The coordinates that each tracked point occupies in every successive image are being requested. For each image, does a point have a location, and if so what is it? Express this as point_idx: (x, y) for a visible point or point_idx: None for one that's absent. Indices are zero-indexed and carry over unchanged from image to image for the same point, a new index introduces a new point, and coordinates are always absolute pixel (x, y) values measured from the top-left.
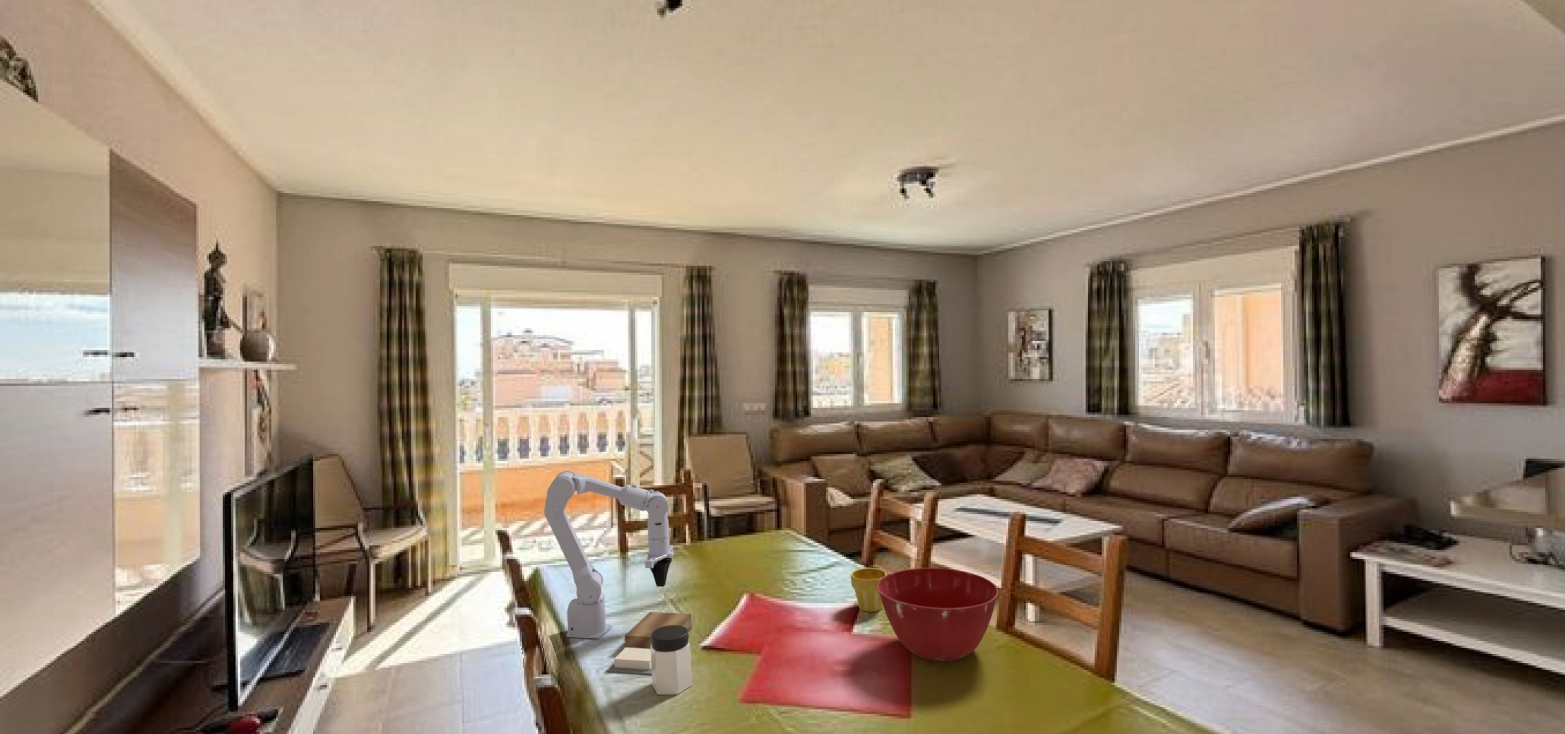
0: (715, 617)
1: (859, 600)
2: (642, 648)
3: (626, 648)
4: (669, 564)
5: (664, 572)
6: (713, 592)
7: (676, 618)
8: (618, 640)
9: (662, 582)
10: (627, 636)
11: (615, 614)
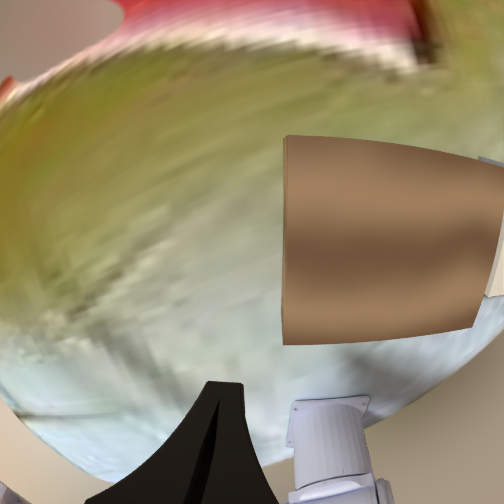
0: (159, 86)
1: None
2: (502, 246)
3: (493, 291)
4: (131, 494)
5: (250, 474)
6: (4, 207)
7: (355, 195)
8: (382, 352)
9: (242, 409)
10: (474, 317)
11: None
